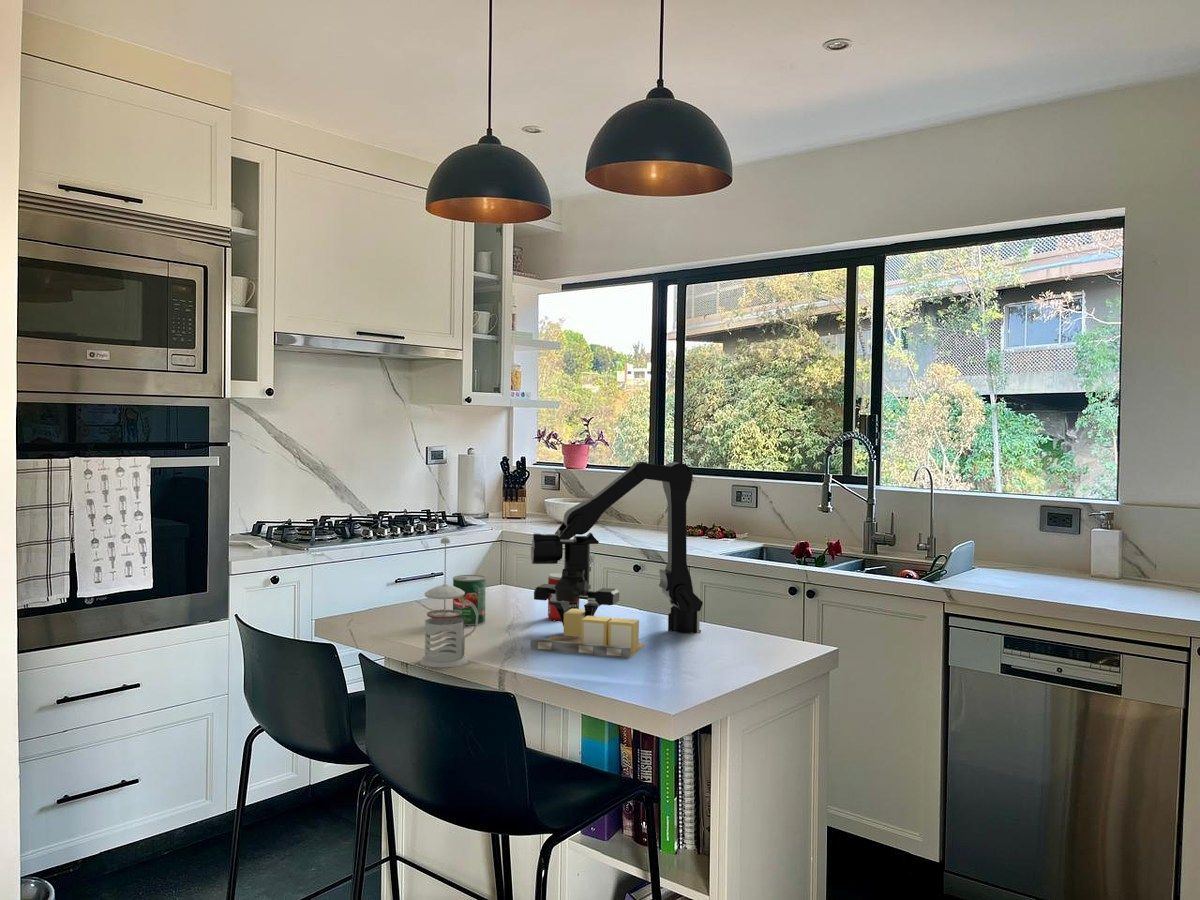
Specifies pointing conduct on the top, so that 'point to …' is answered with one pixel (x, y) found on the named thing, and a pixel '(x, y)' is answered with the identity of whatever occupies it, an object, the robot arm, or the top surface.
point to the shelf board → (581, 647)
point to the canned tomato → (470, 597)
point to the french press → (446, 628)
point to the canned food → (552, 610)
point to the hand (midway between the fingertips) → (576, 632)
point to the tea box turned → (573, 622)
